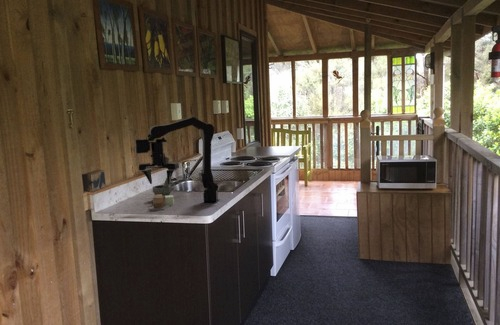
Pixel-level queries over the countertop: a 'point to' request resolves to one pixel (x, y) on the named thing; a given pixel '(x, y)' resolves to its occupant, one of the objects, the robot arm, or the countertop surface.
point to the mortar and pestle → (162, 189)
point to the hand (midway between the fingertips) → (160, 183)
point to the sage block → (169, 200)
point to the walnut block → (159, 202)
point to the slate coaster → (159, 208)
